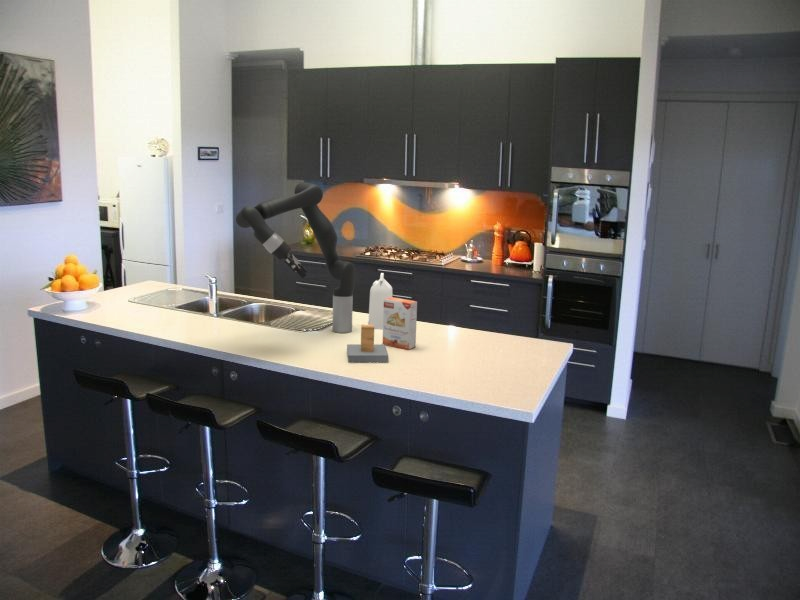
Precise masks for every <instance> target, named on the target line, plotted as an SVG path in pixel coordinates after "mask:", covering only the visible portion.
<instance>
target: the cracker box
mask: <svg viewBox="0 0 800 600" xmlns="http://www.w3.org/2000/svg"><path fill="white" fill-rule="evenodd" d="M417 314H418V301H415V300H410V299H405V298H400V297H389V298H385V299H384V312H383V330H382V344H385V346H389V347H395V348H398V349H403V350H407V351H410V350H412V349H414V348H416V343H417V342H416V339H417V320H418V319H417V317H418V316H417Z"/></svg>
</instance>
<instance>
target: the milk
mask: <svg viewBox="0 0 800 600" xmlns="http://www.w3.org/2000/svg"><path fill="white" fill-rule="evenodd" d="M384 277H385V273H384V272H380V276H379V279H376V280H375V281H374V282H373V283H372V285H371V287H370V290H369V305H368V324H367V325H374V330H381V331H383V312H384V299H385V298H389V297H393V286H392V285H391V284H390V283H389V282H388V281H387V280H386V279H385V278H384Z"/></svg>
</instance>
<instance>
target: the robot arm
mask: <svg viewBox="0 0 800 600" xmlns="http://www.w3.org/2000/svg"><path fill="white" fill-rule="evenodd" d="M323 196H324V192H323V189H322V188H321V187H320V186H319V185H317V184H315V183H310V182H302V181H301V182H299V183H297V184H296V186H295V188H294V194H291V195H285V196H278V197H273V198H270V199H267V200H264V201H262V202H260V203H258V204H257V205H255V206H251V205H246V206H244V207H242V209H240V211H239V212H238V213H237V214H236V217H235V223H236V225H238V226H239V227H240V228H243V229H248V228H252V230H253V236H254V238H255V239H256V240H257V242H259V243H260V244H261V245H262V246H263V247H264V249H265V250H266V251H267V252H268V253H270V255H272V256H273V257H274V258H275V259H276V260H277V262H279V261H281V260H282V259H283V260H284V261H283V262H284V263H285V265H287V266H288V267H289V268H290V269H291V270H292V271H293V272H294V273H297V274H298V275H299V276H300V278H302V279H304V278H306V276H307V272H308V271H307V270H308V269H306V268H305V267H304V266H303V265H302V263H301V261H300V260H299V259H298V258H297V257H295V255H294V254H293V253H292V252H290V251H291V249H292V247H291V246H290V245H289V244H288V243H287V242H286V240H284V239H283V238H282V237H281V236H280V235H279V234H277V233H276V232H275V231H274V230H273V228H271V227H270V226H269V225H268V224H267V222H266V220H269V219H271V218H274V217H276V216H279V215H282V214H284V213H286V212H287V213H288V212H291V211H295V210H298V209H301V210H302V211H303V214H304V215H305V218H306V220H307V221H308V223H309V226H310V228H311V230H312V232H313V235H314V237H315V240H316V242H317V244H318V246H319V249H320V251H321V252H322V255H323V258H324V260H325V263H326V267H327V270H328V273H329V275H330V276H331V279H333V280H337V281H340V283H339V284H340V285H339V286H338V287H335V288H333V291H332V332H334V333H339V334H347V333H351V332H352V331H353V307H354V306H353V305H354V304H353V302H354V301H353V299H354V298H353V294H354V290H355V282H356V267H355V264H354V263H353V262H351V261H348V260H347V261H345V260H341V258H340V257H339V255H338V252H337V248H336V247H337V244H338V236H337V233H336V230H335V228H334V225H333V224H332V222H331V221H330V220H329V218H328V217H327V216H326V215H325V214H324V212H323V211H322V210H321V209H320V207H319V205H318V204H320V203H321V202H322V200H323Z"/></svg>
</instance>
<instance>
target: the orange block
mask: <svg viewBox="0 0 800 600" xmlns="http://www.w3.org/2000/svg"><path fill="white" fill-rule="evenodd" d="M360 328H361V329H360V344H361V352H374V344H375V329H374V325H368V324H361V326H360Z"/></svg>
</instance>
